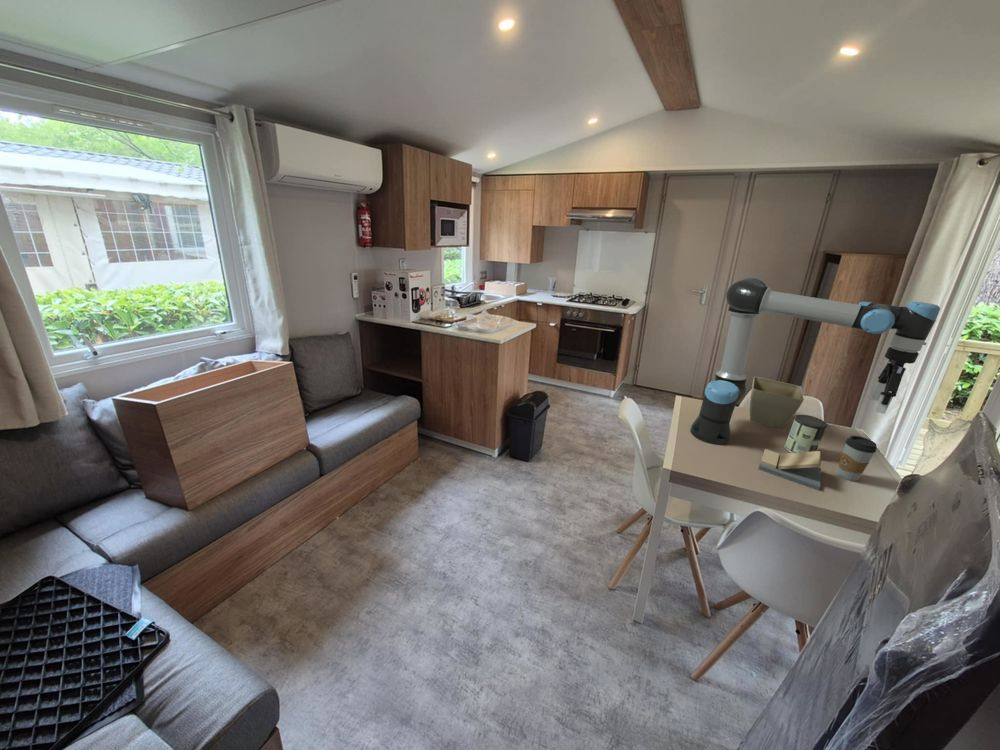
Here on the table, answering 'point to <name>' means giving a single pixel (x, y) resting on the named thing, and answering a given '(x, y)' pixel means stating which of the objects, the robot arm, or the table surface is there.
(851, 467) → the coffee cup
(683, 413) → the table surface
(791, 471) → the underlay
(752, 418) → the flower pot
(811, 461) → the plank
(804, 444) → the coffee can
